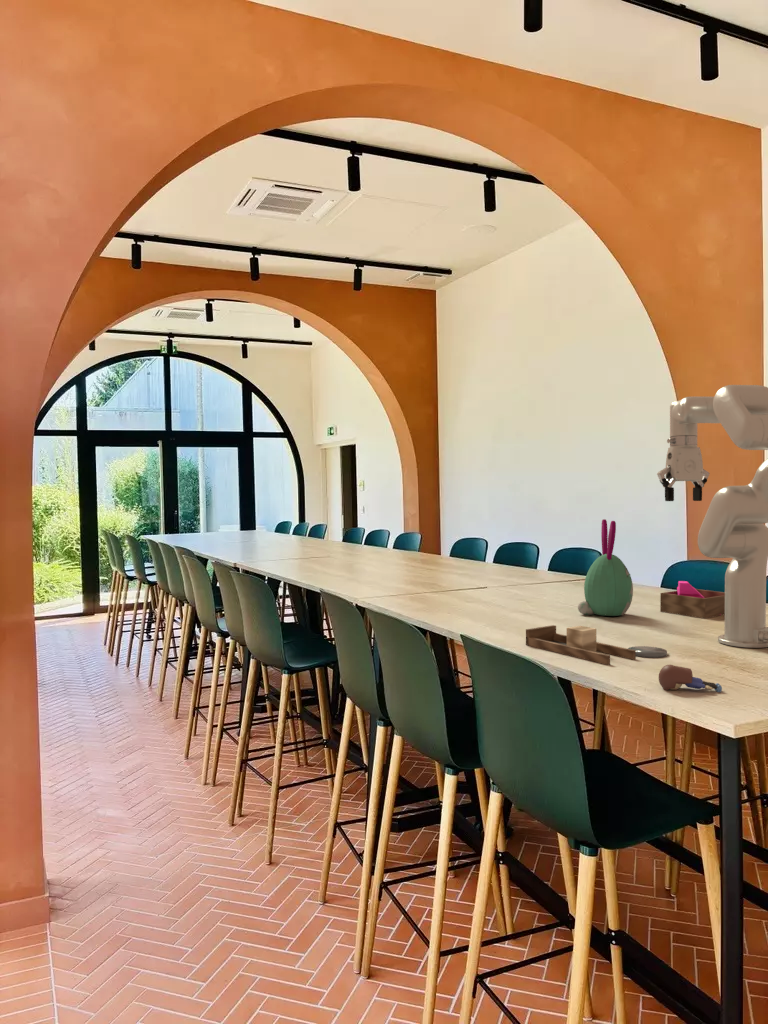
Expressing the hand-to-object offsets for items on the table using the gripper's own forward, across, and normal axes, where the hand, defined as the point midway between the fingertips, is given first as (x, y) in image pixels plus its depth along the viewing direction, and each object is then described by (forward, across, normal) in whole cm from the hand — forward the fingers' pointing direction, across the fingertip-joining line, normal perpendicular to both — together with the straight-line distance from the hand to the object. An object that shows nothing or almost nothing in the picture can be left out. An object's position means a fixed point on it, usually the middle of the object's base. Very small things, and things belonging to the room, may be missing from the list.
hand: (683, 500), depth 218 cm
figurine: (+37, -46, -61) cm, 85 cm away
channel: (+36, -49, -24) cm, 66 cm away
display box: (+36, +17, +15) cm, 42 cm away
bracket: (+37, +17, +15) cm, 43 cm away
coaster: (+36, -35, -31) cm, 59 cm away
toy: (+36, -14, +20) cm, 43 cm away
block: (+37, -49, -25) cm, 66 cm away
